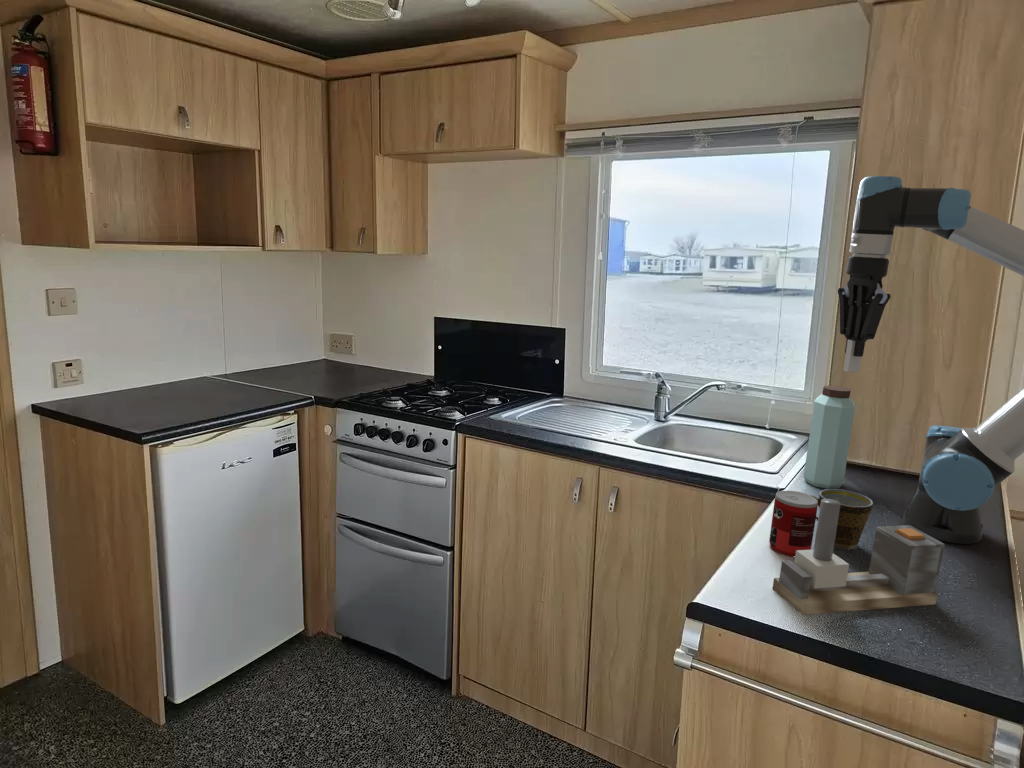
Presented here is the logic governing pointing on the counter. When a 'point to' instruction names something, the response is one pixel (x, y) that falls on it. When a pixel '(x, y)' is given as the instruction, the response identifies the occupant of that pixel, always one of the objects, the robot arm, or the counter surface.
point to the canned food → (793, 522)
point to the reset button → (910, 534)
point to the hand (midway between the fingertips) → (851, 370)
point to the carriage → (824, 551)
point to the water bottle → (829, 438)
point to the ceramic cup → (848, 516)
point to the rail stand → (872, 578)
